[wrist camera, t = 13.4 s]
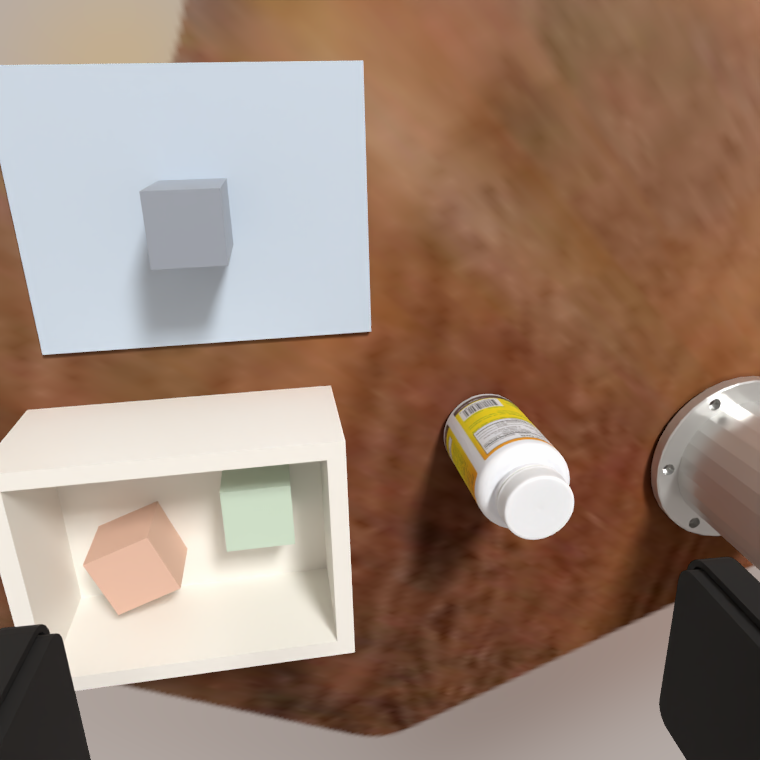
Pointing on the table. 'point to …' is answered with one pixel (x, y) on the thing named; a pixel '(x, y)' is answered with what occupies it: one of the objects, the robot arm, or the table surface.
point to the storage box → (179, 532)
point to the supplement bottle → (509, 466)
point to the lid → (188, 200)
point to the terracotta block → (136, 558)
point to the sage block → (257, 507)
